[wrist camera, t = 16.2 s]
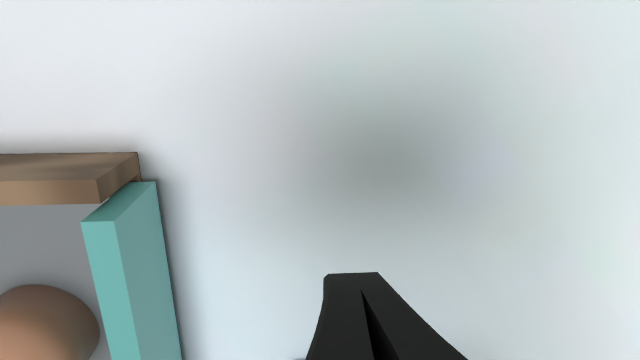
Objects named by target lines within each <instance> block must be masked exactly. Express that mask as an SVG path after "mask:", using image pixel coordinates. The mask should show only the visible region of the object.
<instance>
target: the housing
mask: <svg viewBox="0 0 640 360" xmlns="http://www.w3.org/2000/svg"><path fill="white" fill-rule="evenodd" d="M127 182H142V180H141V174H140V168H139V162H138V156H137V152H133V153H54V154H0V206H18V205H64V204H101V203H102V202H103V201H105V200H106V199H107V198H108V197H110V196H111V195H112V194H113V193H115V192H116V191H117V190H118V189H120V188H121V187H122V186H123V185H125V184H126V183H127Z"/></svg>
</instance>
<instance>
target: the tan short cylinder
mask: <svg viewBox="0 0 640 360" xmlns="http://www.w3.org/2000/svg"><path fill="white" fill-rule="evenodd" d="M99 339H100V329H99V325H98V322H97V319H96V317H95V315H94V314H93V312H92V311H91V310H90V308H89V307H88V306H87V305H86V304H85V303H84V302H83V301H81V300H80V299H79V298H77V297H76V296H74V295H73V294H71V293H69V292H67V291H65V290H62V289H59V288H56V287H52V286H47V285H38V284H31V285H22V286H18V287H14V288H12V289H9V290H7V291H6V292H4V293H2V294H1V295H0V360H89V359H90V357H91V356H92V354H93V353H94V351H95V350H96V348H97V346H98V343H99Z"/></svg>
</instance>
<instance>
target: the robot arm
mask: <svg viewBox="0 0 640 360" xmlns="http://www.w3.org/2000/svg"><path fill="white" fill-rule="evenodd" d="M305 360H468V359H467V358H465V357H464V356H463V355H462V354H461V353H460V352H458V351H457V350H456V349H455V348H454V347H453V346H451V345H450V344H449V343H448V342H447V341H446V340H444V339H443V338H442V337H441V336H440V335H439V334H438V333H437V332H436V331H435V330H434V329H433V328H432V327H431V326H430V325H428V324H427V323H426V322H425V321H424V320H423V319H422V318H421V317H420V316H419V315H418V314H417V313H416V312H415V311H414V310H413V309H412V308H411V307H410V306H409V305H408V304H407V303H406V302H405V301H404V300H403V299H402V298H401V297H400V295H399V294H398V293H397V292H396V291H395V290H394V289H393V288H392V287H391V286H390V285H389V284H388V283H387V282H386V281H385V280H384V278H383V277H382V276H381V275H380V274H379V273H378V272H368V273H340V274H328V275H326V276H325V277H324V283H323V303H322V308H321V312H320V316H319V320H318V323H317V327H316V331H315V334H314V337H313V340H312V343H311V345H310V348H309V351H308V354H307V357H306V359H305Z"/></svg>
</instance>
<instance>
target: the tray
mask: <svg viewBox="0 0 640 360" xmlns="http://www.w3.org/2000/svg"><path fill="white" fill-rule="evenodd" d="M31 284H38V285H47V286H52V287H56V288H59V289H62V290H65V291H67V292H69V293H71V294H73V295H74V296H76V297H77V298H79V299H80V300H81V301H83V302H84V303H85V304H86V305H87V306H88V307H89V308H90V310H91V311H92V312H93V314H94V315H95V317H96V319H97V322H98V325H99V329H100V339H99V343H98V346H97V348H96V350H95V351H94V353H93V354H92V356H91V357H90V359H89V360H182V357H181V350H180V343H179V337H178V330H177V323H176V317H175V310H174V303H173V297H172V290H171V283H170V277H169V270H168V263H167V257H166V250H165V243H164V237H163V230H162V224H161V217H160V210H159V204H158V197H157V190H156V184H155V182H127V183H126V184H125V185H123V186H122V187H121V188H120V189H118V190H117V191H116V192H115V193H113V194H112V195H111V196H110V197H108V198H107V199H106V200H105V201H103V202H102V203H101V204H64V205H18V206H0V295H1V294H2V293H4V292H6V291H7V290H9V289H12V288H14V287H18V286H22V285H31Z"/></svg>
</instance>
